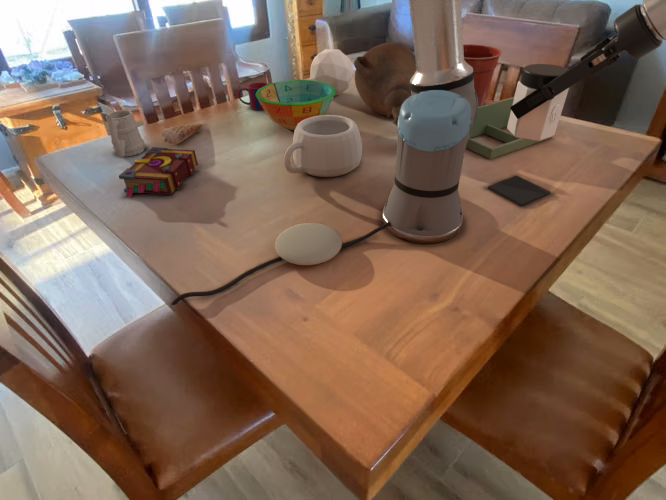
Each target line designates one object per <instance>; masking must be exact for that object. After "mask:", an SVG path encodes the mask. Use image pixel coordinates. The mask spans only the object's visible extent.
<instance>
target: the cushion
mask: <svg viewBox="0 0 666 500" xmlns="http://www.w3.org/2000/svg"><path fill="white" fill-rule="evenodd" d="M342 244H343V240H342V236H341V234H340V233H339V232H338V231H337V230H336V229H334V228H333V227H331V226H329V225H326V224H323V223H319V222H304V223H298V224H295V225H292V226H289V227H287V228H285V229H284V230H283V231H282V232H280V233H279V235H277V237H276V239H275V242H274V250H275V252H276V254H277V255H278V257H281V258H282V259H284V260H283V261H285V262H287V263H289V264H292V265H298V266H314V265H320V264H323V263H326V262H328V261H330V260H332V259H333V258H335V257H336V256H337V255H338V253H339V252H340V251H341V249H342V248H341V246H342Z"/></svg>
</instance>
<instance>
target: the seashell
mask: <svg viewBox="0 0 666 500" xmlns="http://www.w3.org/2000/svg"><path fill="white" fill-rule="evenodd" d="M204 125H205V123H195V124H184V125H183V124H182V125H177V126H176V125H175V126H171V127H167V128H165V129H163V130H162V131H161V136H162V137H163V138H164V139H163V142H164V143H169V144H170V145H178V144H181V143H182V142H184V141H185V140H187V139H188V138H190V137H191V136H193V135H195V133H197V131H199V130H200V129H201V128H202V127H203V126H204Z"/></svg>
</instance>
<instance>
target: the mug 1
mask: <svg viewBox="0 0 666 500" xmlns="http://www.w3.org/2000/svg"><path fill="white" fill-rule="evenodd" d="M105 120H106V123H107V131H108V132H109V135H110V139H111V140H110V141H111V142H110V143H111V145H112V149H113V150H114V151H115V153H116V154H117V156H119V157H120V158H125V157H132V156H136V155H139V154H141V153H143V152H145V149H146V147H145V144H146V143H145V140H144V139H143V138H142V136H141V133H140V131H139V128H138V127H139V123H138V122H137V121H136V120H135V116H134V114H133V111H131V110H128V109H122V110H121V109H120V110H114V111H111V112H108V113H106V114H105Z"/></svg>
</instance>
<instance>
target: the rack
mask: <svg viewBox="0 0 666 500" xmlns="http://www.w3.org/2000/svg"><path fill="white" fill-rule="evenodd" d="M513 100H514V96H511V97H508V98H504V99H501V100H497V101H494V102H490V103H486V104H484V105H482V106H479V107H478V112H477V115H476V119H475V121H474V123H473V125H472V129H471V132H470V135H469V138H468V141H467V144H466V148H465V149H468V150H471V152H474V153H475V154H478V155H481V156H483V157H485V158H486V159H489V160H492V159H494V158H497V157H500V156H503V155H506V154H509V153H512V152H514V151H517V150H520V149H523V148H526V147H530V146H531V145H535V144H537V143H540V142H543V141H545V140H548V139H549V140H550V139H551V137H549V138H546V139H543V140H541V141H536V140H530V139H524V138H518V137H515V136H514V135H513V134H512V133H511V132H510V131H509V132H508V131H506V130H504V128H507V125H508V121H509V117H510V113H511V108H510V107H511V106H512V104H513ZM484 134H485V135H487V136H490V137H492V138H494V139H497V140H499V141H502V142H504V143H502V144H499V145H496V146H493V147H491V146H489V145H487V144H484V143H483V142H480V141H478V140H475V139H474V138H475V137H479V136H481V135H484Z"/></svg>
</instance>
